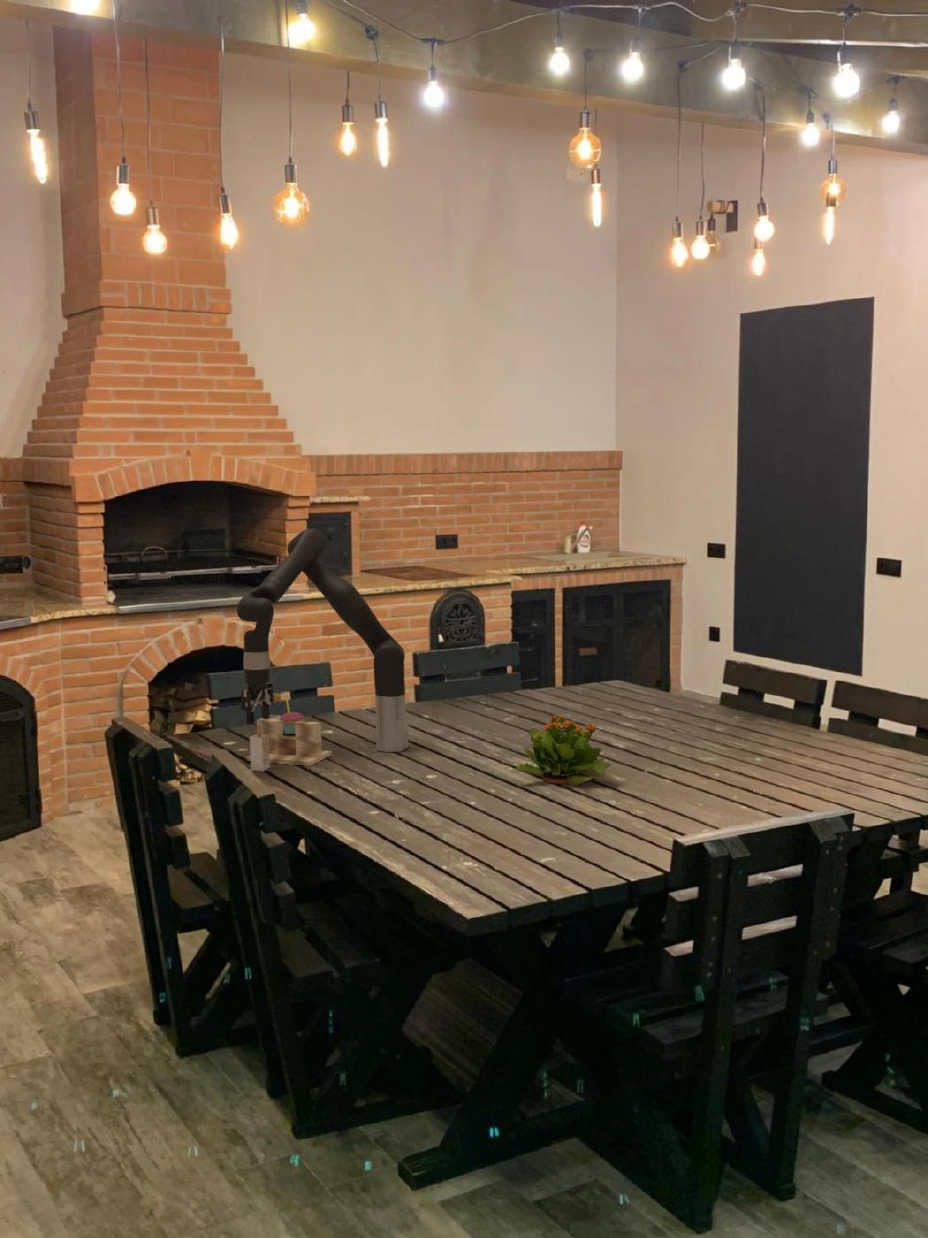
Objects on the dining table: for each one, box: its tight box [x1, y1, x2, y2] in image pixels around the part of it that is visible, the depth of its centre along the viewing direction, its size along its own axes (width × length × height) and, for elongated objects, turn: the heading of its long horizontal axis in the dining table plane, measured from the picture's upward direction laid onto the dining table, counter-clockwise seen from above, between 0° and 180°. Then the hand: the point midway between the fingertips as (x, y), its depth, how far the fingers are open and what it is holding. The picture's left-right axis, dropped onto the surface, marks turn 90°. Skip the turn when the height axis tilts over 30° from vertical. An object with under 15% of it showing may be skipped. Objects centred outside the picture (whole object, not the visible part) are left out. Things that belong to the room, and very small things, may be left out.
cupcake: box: [280, 696, 306, 735], centre depth 406 cm, size 9×8×12 cm
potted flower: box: [516, 715, 612, 787], centre depth 344 cm, size 25×24×18 cm
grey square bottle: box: [249, 725, 271, 773], centre depth 359 cm, size 4×4×13 cm
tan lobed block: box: [246, 714, 333, 766], centre depth 371 cm, size 21×14×12 cm, turn 69°
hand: (258, 721), depth 358 cm, fingers open, 8 cm apart
